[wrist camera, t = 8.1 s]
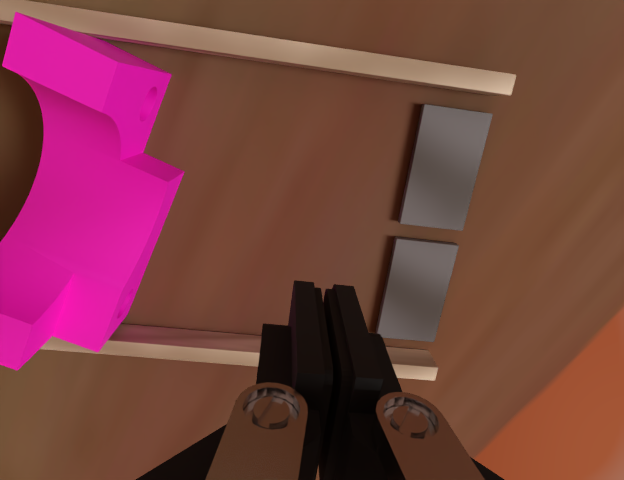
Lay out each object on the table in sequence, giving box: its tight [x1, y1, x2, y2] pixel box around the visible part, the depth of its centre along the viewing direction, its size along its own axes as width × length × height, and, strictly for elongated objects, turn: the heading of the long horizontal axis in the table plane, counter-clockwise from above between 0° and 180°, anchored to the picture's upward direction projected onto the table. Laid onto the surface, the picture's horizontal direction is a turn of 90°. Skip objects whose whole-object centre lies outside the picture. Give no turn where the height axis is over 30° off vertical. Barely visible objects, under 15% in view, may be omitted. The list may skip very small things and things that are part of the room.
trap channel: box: [0, 0, 516, 381], centre depth 23 cm, size 19×32×4 cm, turn 82°
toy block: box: [0, 12, 184, 370], centre depth 21 cm, size 15×6×8 cm, turn 154°
